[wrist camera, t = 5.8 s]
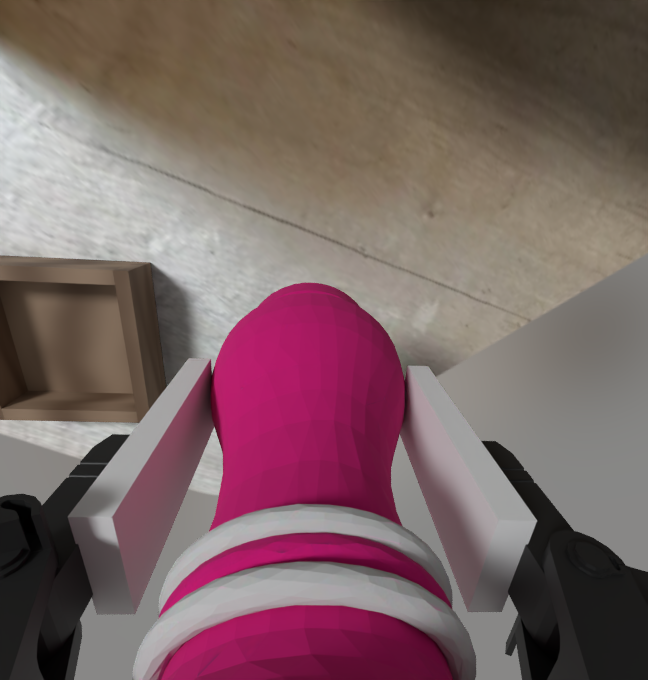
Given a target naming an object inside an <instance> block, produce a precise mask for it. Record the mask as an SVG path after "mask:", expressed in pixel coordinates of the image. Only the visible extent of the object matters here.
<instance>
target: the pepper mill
mask: <svg viewBox="0 0 648 680" xmlns="http://www.w3.org/2000/svg"><path fill="white" fill-rule="evenodd" d="M404 408H405V380H404V376H403V372H402V368H401V363H400V360H399V357H398V355H397V352H396V349H395V346H394V344H393V342H392V341H391V339H390V337H389V335H388V333H387V332H386V331H385V330H384V328H383V327H382V326H381V325H380V323H379V322H378V321H376V320H375V319H374V318H373V317H372V316H371V315H370V314H368V313H367V312H366V311H364V310H363V309H362V308H360V307H359V305H358V304H357V303H356V302H355V301H354V300H353V299H352V298H351V297H349V296H348V295H347V294H345V293H344V292H342V291H340V290H338V289H336V288H334V287H331V286H328V285H324V284H319V283H299V284H294V285H291V286H288V287H285V288H282V289H280V290H278V291H276V292H274V293H272V294H271V295H270V296H269V297H267V298H266V299H265V300H264V301H263V302H262V303H261V304H260V305H259V306H258V307H257V308H256V309H254V310H252V311H251V312H250V313H249V314H247V315H246V316H245V317H244V318H243V319H241V320H240V321H239V322H238V323H237V325H236V326H235V327H234V328H233V329H232V330H231V332H230V333H229V335H228V336H227V338H226V340H225V342H224V343H223V345H222V348H221V350H220V353H219V355H218V358H217V360H216V363H215V367H214V370H213V374H212V378H211V413H212V420H213V423H214V426H215V429H216V433H217V436H218V439H219V442H220V445H221V448H222V452H223V477H222V482H221V488H220V493H219V499H218V504H217V509H216V514H215V517H214V520H213V522H212V525H211V528H210V530H209V532H208V533H206V534H205V535H203V536H202V537H200V538H199V539H197V540H196V541H195V542H194V543H193V544H192V545H190V546H189V547H188V548H187V549H186V550H185V551H184V553H183V554H182V555H181V556H180V557H179V558H178V559H177V560H176V562H175V564H174V565H173V567H172V568H171V570H170V572H169V573H168V575H167V577H166V580H165V582H164V584H163V588H162V591H161V594H160V597H159V611H158V615H159V618H158V620H157V621H156V623H155V624H154V625H153V626H152V627H151V629H150V630H149V631H148V633H147V634H146V636H145V638H144V640H143V642H142V644H141V646H140V647H139V649H138V653H137V657H136V660H135V664H134V667H133V680H475V677H476V655H475V652H474V649H473V646H472V642H471V639H470V636H469V633H468V632H467V630H466V629H465V627H464V625H463V624H462V622H461V621H460V619H459V618H458V616H457V614H456V613H455V612H454V611H453V610H452V589H451V585H450V581H449V578H448V576H447V574H446V571H445V569H444V567H443V565H442V563H441V561H440V560H439V558H438V557H437V556H436V554H435V553H434V552H433V551H432V550H431V548H430V547H429V546H428V545H427V544H426V543H425V542H423V541H422V540H421V539H420V538H418V537H417V536H416V535H415V534H414V533H413V532H411V531H409V530H408V529H406V528H404V527H403V526H402V524H401V522H400V519H399V517H398V514H397V512H396V507H395V503H394V498H393V493H392V489H391V466H392V461H393V456H394V452H395V448H396V445H397V441H398V438H399V434H400V430H401V427H402V423H403V418H404Z"/></svg>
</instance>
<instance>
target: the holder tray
mask: <svg viewBox="0 0 648 680" xmlns="http://www.w3.org/2000/svg"><path fill="white" fill-rule="evenodd" d="M165 389H166V382H165V374H164V366H163V358H162V350H161V342H160V335H159V327H158V319H157V311H156V303H155V295H154V287H153V279H152V271H151V264H150V263H147V262H126V261H105V260H84V259H63V258H41V257H20V256H0V420H37V421H85V422H133V423H140V421H141V420H142V419H143V417H144V416H145V415H146V413H147V412H148V411H149V410H150V408H151V407H152V406H153V404H154V403H155V402H156V400H157V399H158V398H159V396H160V395H161V394H162V393H163V391H164V390H165Z"/></svg>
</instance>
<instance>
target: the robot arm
mask: <svg viewBox="0 0 648 680" xmlns="http://www.w3.org/2000/svg"><path fill="white" fill-rule="evenodd" d="M211 378H212V371H211V359H198V358H188V360H187V361H186V362H185V364H184V365H183V366H182V368H181V369H180V370H179V372H178V373H177V374H176V375H175V377H174V378H173V379H172V381H171V382H170V383H169V385H168V386H167V387H166V389H165V390H164V391H163V393H162V394H161V395H160V396H159V398H158V399H157V400H156V402H155V403H154V404H153V406H152V407H151V408H150V410H149V411H148V412H147V413H146V415H145V416H144V417H143V419H142V420H141V421H140V423H139V424H138V425H137V427H136V428H135V429H134V430H133V432H132V433H131V434H130V435H117V434H112V435H111V436H109V437H108V438H106V439H105V440H103V441H102V442H100V443H99V444H97V445H96V446H94V447H93V448H92V449H91V450H90V451H89V453H88V454H87V455H86V456H85V457H84V458H83V459H82V461H81V463H80V465H77V466H76V467H75V469H74V470H73V471H72V472H71V473H70V475H69V478H66V479H65V480H64V481H63V482H62V483H61V485H60V486H59V487H58V488H57V489H56V490H55V492H54V493H53V494H52V495H51V496H50V497H49V498H48V500H47V501H46V502H45V503H44V504H43V505H41V503H40V502H39V501H38V500H37V498H36V497H34V496H30V495H26V494H16V495H6V496H3V497H0V680H74V676H75V671H76V666H77V660H78V655H79V650H80V644H81V639H82V625H81V622H80V617H81V616H82V614H83V612H84V610H85V608H86V607H87V605H88V603H89V601H90V599H91V597H92V599H93V603H94V606H95V609H96V613H97V614H135V613H136V611H137V608H138V606H139V604H140V601H141V599H142V597H143V594H144V591H145V589H146V587H147V584H148V582H149V580H150V578H151V575H152V573H153V570H154V568H155V566H156V563H157V561H158V558H159V556H160V554H161V551H162V549H163V546H164V544H165V542H166V540H167V537H168V535H169V532H170V530H171V528H172V525H173V523H174V521H175V518H176V516H177V513H178V511H179V509H180V506H181V504H182V501H183V499H184V497H185V495H186V492H187V490H188V487H189V485H190V483H191V480H192V478H193V476H194V473H195V471H196V468H197V466H198V464H199V461H200V459H201V457H202V454H203V452H204V449H205V447H206V445H207V442H208V440H209V438H210V435H211V433H212V431H213V428H214V423H213V420H212V413H211ZM400 436H401V438H402V441H403V443H404V446H405V449H406V451H407V453H408V456H409V459H410V462H411V464H412V467H413V469H414V472H415V475H416V477H417V480H418V483H419V485H420V488H421V490H422V493H423V496H424V498H425V501H426V504H427V506H428V509H429V511H430V514H431V517H432V519H433V522H434V524H435V527H436V530H437V532H438V535H439V538H440V540H441V543H442V545H443V548H444V551H445V553H446V555H447V559H448V561H449V564H450V566H451V569H452V572H453V574H454V577H455V579H456V582H457V585H458V587H459V590H460V593H461V595H462V597H463V600H464V603H465V605H466V608H467V611H468V612H502V610H503V607H504V605H505V602H506V599H507V597H508V594H509V595H510V597H511V599H512V601H513V603H514V605H515V607H516V609H517V611H518V616H517V618H516V621H515V623H514V626H513V628H512V630H511V633H510V635H509V637H508V640H507V642H506V653H505V654H507V655H510V656H511V655H512V653H513V651H514V649H515V646H516V644H517V649H518V656H519V662H520V668H521V675H522V680H648V572H645V571H642V570H638V569H634V568H631V567H628V566H626V565H625V564H624V563H623V561H622V560H621V559H620V558H619V557H618V556H617V555H616V554H615V553H614V552H613V551H611V550H610V549H609V548H608V547H607V546H605V545H603V544H602V543H600V542H599V541H597V540H596V539H594V538H592V537H590V536H587V535H585V534H582V533H579V532H575V531H574V530H573V529H572V528H571V527H570V525H569V524H568V523H567V521H566V520H565V519H564V518H563V516H562V515H561V514H560V513H559V511H557V509H556V508H555V506H554V505H553V504H552V503H551V501H550V500H549V499H548V498H547V497H546V495H545V494H544V493H543V491H542V490H541V489H540V488H539V486H538V485H537V484H536V483H534V481H533V479H532V478H531V476H530V475H529V474H528V472H527V471H524V468H523V466H522V465H521V464H520V463H519V461H518V460H517V459H516V457H515V456H514V455H513V454H512V453H511V452H510V451H508V450H507V449H506V448H504V447H503V446H502V445H500V444H499V443H497V442H496V441H481V440H480V439H479V438H478V436H477V435H476V433H475V432H474V431H473V429H472V428H471V426H470V425H469V423H468V422H467V421H466V419H465V418H464V416H463V415H462V414H461V412H460V411H459V409H458V408H457V407H456V405H455V404H454V402H453V401H452V399H451V398H450V397H449V395H448V394H447V392H446V391H445V389H444V388H443V387H442V385H441V384H440V382H439V381H438V380H437V378H436V377H435V375H434V374H433V372H432V371H431V370H430V368H429V367H428V366H407V372H406V379H405V408H404V418H403V423H402V427H401V430H400Z"/></svg>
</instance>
